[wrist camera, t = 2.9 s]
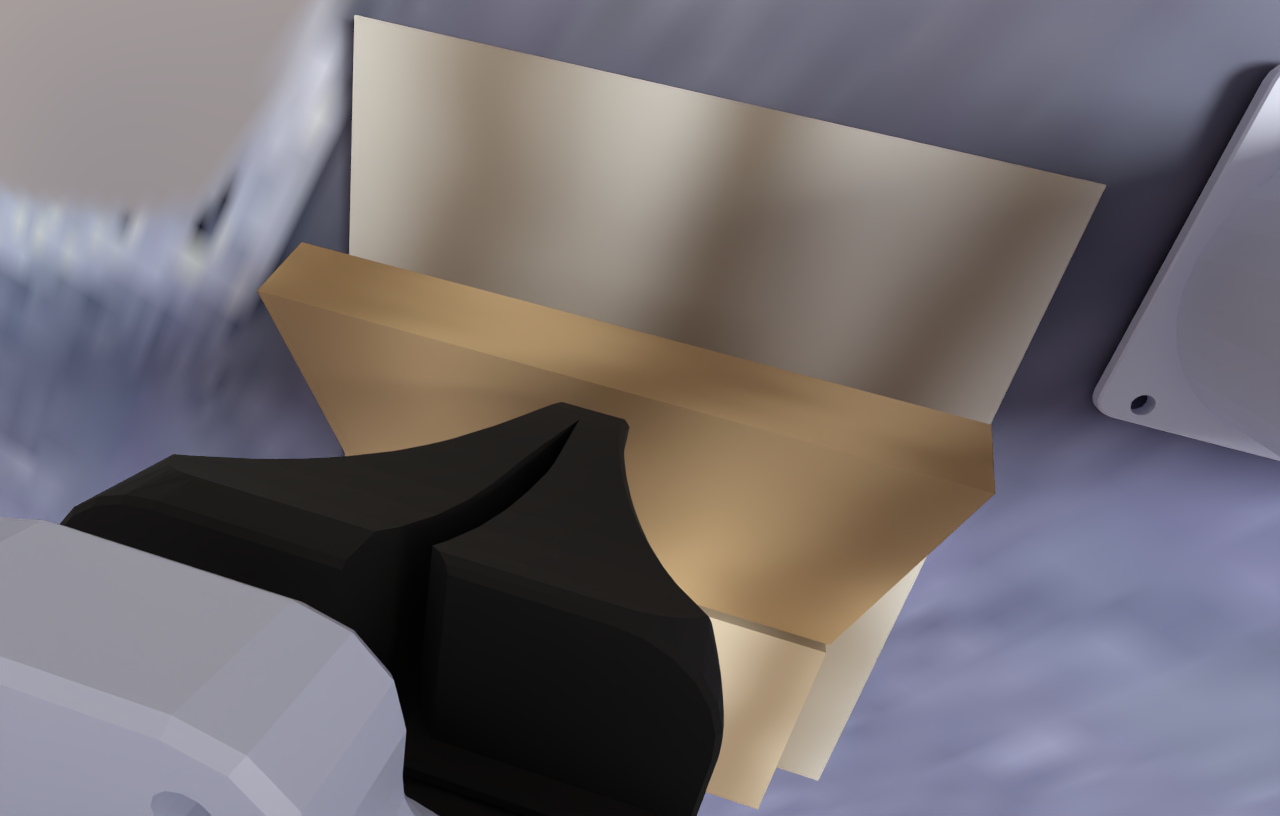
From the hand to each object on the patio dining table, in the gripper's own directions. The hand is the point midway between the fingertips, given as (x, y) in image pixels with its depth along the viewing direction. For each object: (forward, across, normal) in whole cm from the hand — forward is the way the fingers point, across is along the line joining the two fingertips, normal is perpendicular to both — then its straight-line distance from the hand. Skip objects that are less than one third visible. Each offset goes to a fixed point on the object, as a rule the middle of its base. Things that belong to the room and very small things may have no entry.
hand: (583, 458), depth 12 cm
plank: (+4, 0, +2) cm, 4 cm away
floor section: (+7, 0, +4) cm, 8 cm away
